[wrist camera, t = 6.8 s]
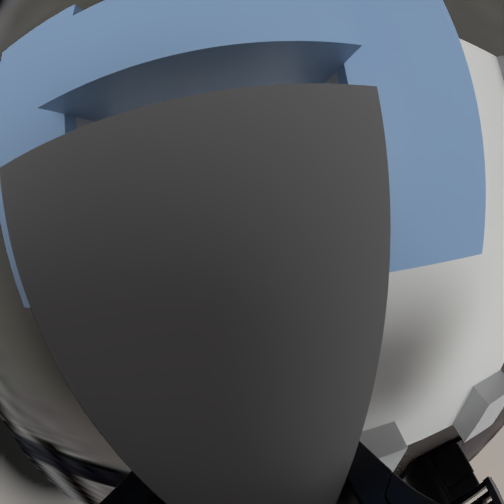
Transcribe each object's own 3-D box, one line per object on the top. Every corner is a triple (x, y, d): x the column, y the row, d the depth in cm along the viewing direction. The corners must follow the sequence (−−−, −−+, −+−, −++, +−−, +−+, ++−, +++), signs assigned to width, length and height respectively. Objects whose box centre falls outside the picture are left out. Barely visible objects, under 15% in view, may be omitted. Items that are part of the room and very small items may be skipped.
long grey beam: (306, 486, 10) (315, 543, 6) (232, 493, 10) (231, 550, 6) (296, 136, 6) (376, 86, 2) (127, 163, 6) (-1, 168, 2)
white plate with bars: (474, 400, 13) (500, 436, 8) (175, 466, 13) (165, 520, 9) (512, 76, 6) (566, 68, 2) (58, 73, 7) (-18, 46, 2)
